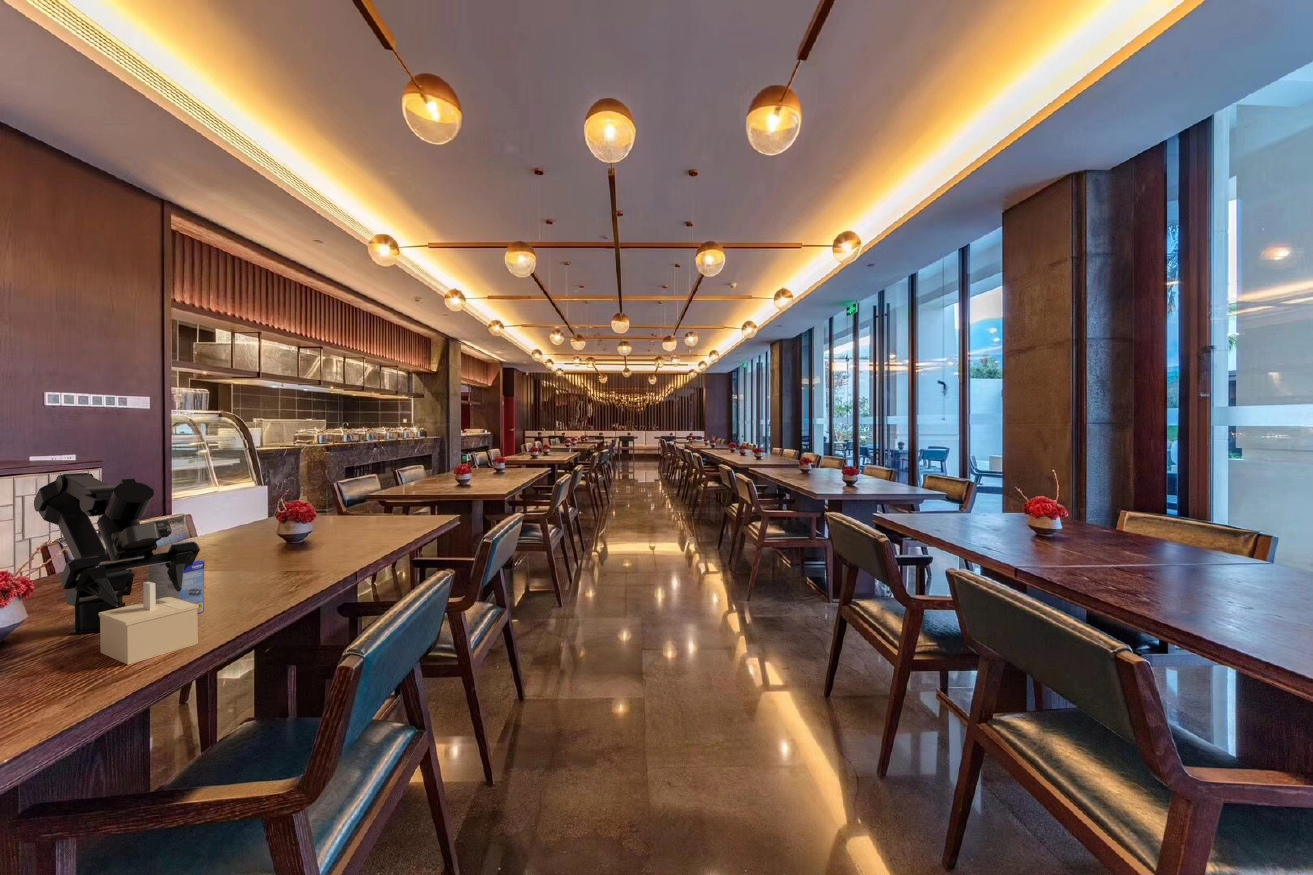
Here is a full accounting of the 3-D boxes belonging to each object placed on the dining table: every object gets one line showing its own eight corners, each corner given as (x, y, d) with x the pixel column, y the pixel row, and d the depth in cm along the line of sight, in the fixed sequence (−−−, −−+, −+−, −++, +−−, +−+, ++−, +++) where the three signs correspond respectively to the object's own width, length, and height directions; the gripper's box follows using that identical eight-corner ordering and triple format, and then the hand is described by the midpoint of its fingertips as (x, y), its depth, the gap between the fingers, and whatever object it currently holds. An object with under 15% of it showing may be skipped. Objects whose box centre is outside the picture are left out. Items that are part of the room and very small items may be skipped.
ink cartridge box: (206, 611, 118) (206, 549, 118) (180, 619, 113) (179, 555, 113) (173, 608, 120) (173, 548, 120) (146, 617, 115) (145, 553, 115)
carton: (100, 652, 96) (100, 615, 96) (169, 633, 105) (168, 600, 105) (127, 664, 91) (127, 626, 91) (197, 643, 100) (197, 608, 100)
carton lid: (98, 615, 96) (98, 586, 96) (170, 599, 105) (169, 572, 105) (125, 625, 90) (125, 594, 90) (198, 607, 100) (198, 579, 100)
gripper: (65, 516, 92) (90, 584, 87) (195, 503, 108) (222, 559, 104) (50, 555, 95) (73, 622, 90) (178, 537, 112) (203, 593, 107)
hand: (149, 596), depth 98 cm, fingers open, 9 cm apart
